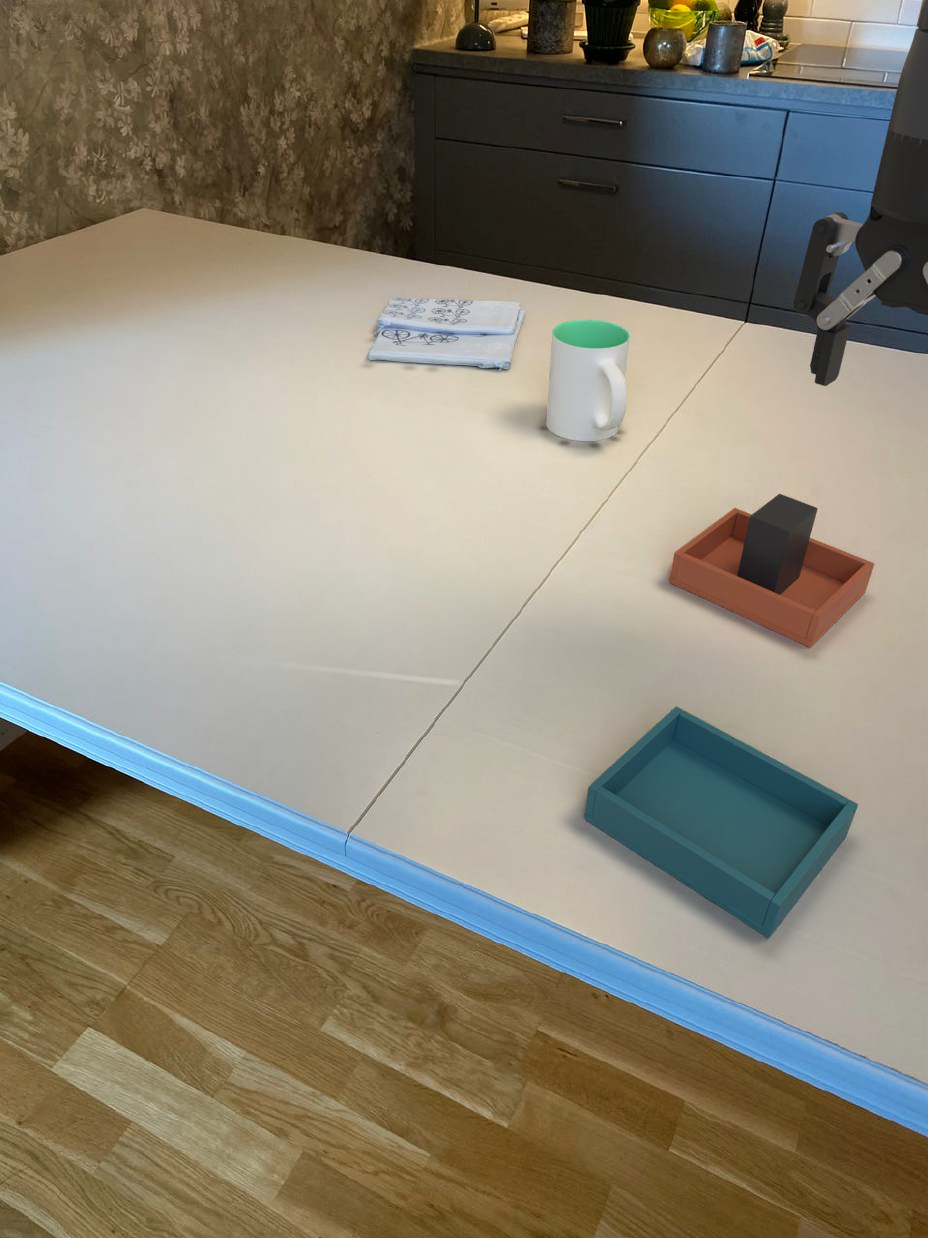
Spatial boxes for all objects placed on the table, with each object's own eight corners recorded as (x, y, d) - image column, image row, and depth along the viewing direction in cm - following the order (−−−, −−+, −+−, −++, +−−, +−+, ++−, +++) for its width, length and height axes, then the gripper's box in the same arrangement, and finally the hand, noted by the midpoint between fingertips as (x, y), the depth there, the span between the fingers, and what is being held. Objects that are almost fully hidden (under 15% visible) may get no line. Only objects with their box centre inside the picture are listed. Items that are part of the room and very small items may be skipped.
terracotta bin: (865, 593, 84) (875, 563, 82) (810, 648, 77) (819, 617, 76) (728, 536, 90) (734, 507, 89) (668, 582, 84) (673, 552, 83)
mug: (651, 449, 104) (664, 356, 98) (584, 463, 101) (593, 367, 95) (597, 404, 113) (606, 315, 106) (534, 415, 110) (539, 325, 104)
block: (799, 577, 84) (818, 507, 80) (771, 603, 81) (789, 531, 77) (762, 562, 86) (779, 492, 82) (734, 586, 83) (749, 515, 79)
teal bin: (846, 837, 62) (859, 804, 60) (769, 939, 56) (780, 906, 54) (669, 738, 69) (676, 705, 67) (583, 819, 63) (588, 786, 61)
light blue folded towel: (525, 315, 135) (526, 299, 134) (510, 373, 119) (510, 356, 118) (390, 306, 137) (390, 291, 136) (357, 363, 121) (356, 346, 120)
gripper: (810, 118, 56) (760, 387, 65) (1079, 152, 48) (977, 451, 58) (867, 103, 60) (812, 356, 70) (1121, 131, 53) (1020, 412, 62)
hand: (887, 399), depth 64 cm, fingers open, 8 cm apart
